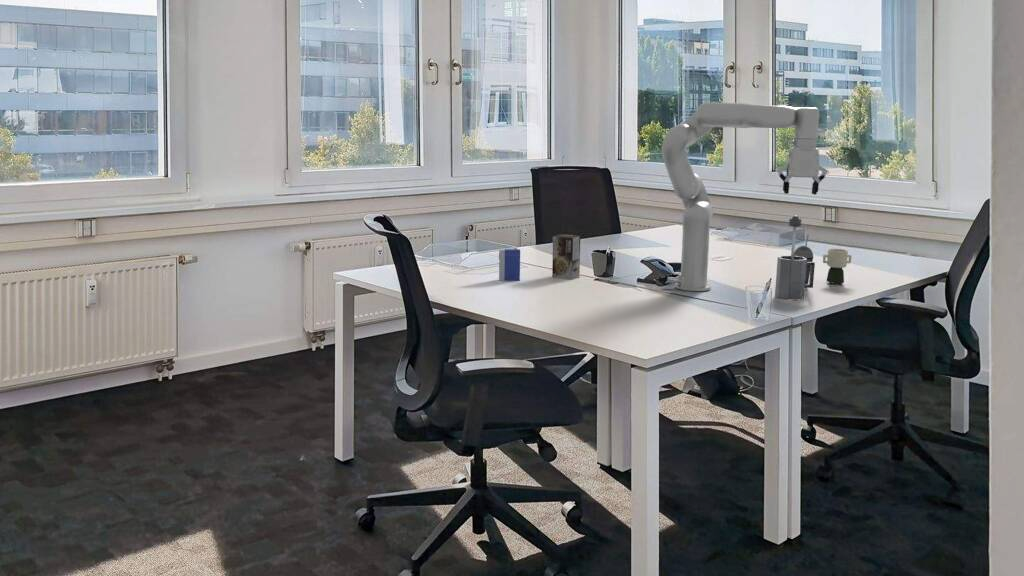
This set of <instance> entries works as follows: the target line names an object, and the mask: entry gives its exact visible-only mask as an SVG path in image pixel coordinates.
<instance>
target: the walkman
mask: <svg viewBox="0 0 1024 576" xmlns="http://www.w3.org/2000/svg"><path fill="white" fill-rule="evenodd" d="M498 251H499V252H498V260H499V261H498V267H499V269H498V271H499V272H498V281H499V282H500V281H501V282H505V281H506V282H507V281H509V282H517V281H518V282H520V280H521V249H520V248H518V247H517V248H516V247H515V248H510V249H509V248H499V250H498Z"/></svg>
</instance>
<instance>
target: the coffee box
mask: <svg viewBox="0 0 1024 576" xmlns="http://www.w3.org/2000/svg"><path fill="white" fill-rule="evenodd" d="M580 262H581V235H575V234H563V233H562V234H556V235H553V236H552V265H551V266H552V269H551V270H552V271H551V272H552V273H551V276H552V278H558V279H568V280H574V279H577V278H580V273H581V272H580V271H581V270H580V268H581V263H580Z"/></svg>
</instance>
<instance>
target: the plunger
mask: <svg viewBox="0 0 1024 576" xmlns="http://www.w3.org/2000/svg"><path fill="white" fill-rule="evenodd" d="M788 226H789V227H792V239H791V252H790V254H791V255H790V256H791V260H794V252H795V250H796V248H795V247H796V235H797V234H796V233H797V227H801V226H802V218H800V217H799V216H798V215H794V216H792V217H791V218H789V221H788Z"/></svg>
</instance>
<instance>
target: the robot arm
mask: <svg viewBox="0 0 1024 576" xmlns="http://www.w3.org/2000/svg"><path fill="white" fill-rule="evenodd" d="M819 120H820V110H819V108H817V107H808V106H807V107H806V106H804V107H793V106H787V105H760V104H759V105H757V104H750V103H745V102H744V103H743V102H713V101H707V102H703V103H701V104H699V105H698V107H697V109H696V111H695V112H694V113H693V114H692V115H691V116H689V117H688V118H686V119H685V120H684V121H683V122H682V123H679V124H676V125H674V126H673V127H671V128H670V130H669V131H668V132H667V133H666V135H665V136H664V138H663V141H662V144H661V156H662V160H663V162H664V166H665V168H666V170H667V171H666V172H667V174H668V177H669V180H670V182H671V185H672V188H673V191H674V193H675V195H676V197H678V199H679V200H681V201H682V204H683V207H684V212H683V214H682V238H681V239H682V240H681V241H682V243H681V266H680V274H678V276H676V277H673V276H667V283H672V284H675V288H676V289H678V290H681V291H686V292H687V291H688V292H707V291H711V289H712V285H710V284H709V283H708V267H709V252H710V250H709V248H710V227H711V226H710V224H711V220H712V219H713V216H714V210H713V209H714V208H713V205H712V201H711V200H710V197H709V195H708V192H707V190H706V188H705V187H706V186H705V183H704V182H703V180H702V178H701V177H700V176H699V175H698V174H696V173H695V172H694V171H693V167H692V165H691V162H690V159H689V157H688V154H687V152H686V151H687V148H688V147H691V146H692V145H693V144H696V143H697V141H699V140H700V139H701V138H702V137H704V135H706V134H707V133H708V132H710V131H711V130H712V129H714V128H733V129H736V128H737V129H751V128H755V129H756V128H758V129H761V128H762V129H779V130H780V129H782V130H783V129H788V128H789V129H790V128H794V134H793V139H790V140H789V145H792V147H791V148H790V151H789V155H788V159H787V162H786V164H784V165H781V166H780V167H778V168H776V172H777V174H778V177H779V178H780V179H781V181H783V185H782V191H783V193H784V194H785V195H786V194H787V195H788V194H789V192H790V191H789V190H790V180H791V179H792V178H811V179H812V180H813V182H812V185H811V186H812V187H811V194H812V195H817V194H818V192H819V184H820V183H821V182H822V181H823V180H824V179H825V178H826V175H827V174H828V172H829V171H828V170H827V169H826V168H825V167H824V168H823V167H822V166H820V151H819V150H820V149H819V148H817V140H818V132H819V131H818V130H819ZM785 170H786V172H785V173H786V174H785V175H784V173H783V171H785ZM820 172H821V174H820V175H819V173H820Z"/></svg>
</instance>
